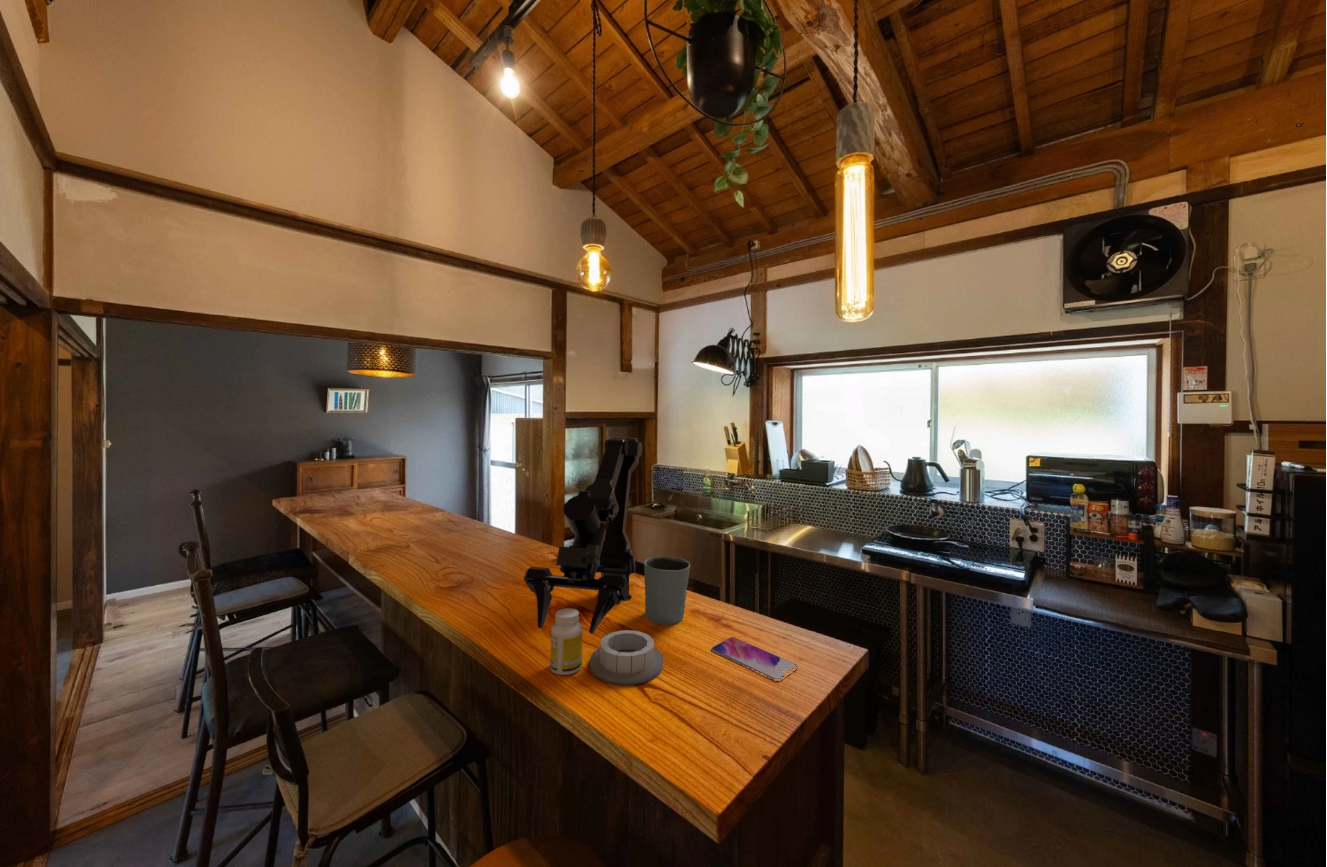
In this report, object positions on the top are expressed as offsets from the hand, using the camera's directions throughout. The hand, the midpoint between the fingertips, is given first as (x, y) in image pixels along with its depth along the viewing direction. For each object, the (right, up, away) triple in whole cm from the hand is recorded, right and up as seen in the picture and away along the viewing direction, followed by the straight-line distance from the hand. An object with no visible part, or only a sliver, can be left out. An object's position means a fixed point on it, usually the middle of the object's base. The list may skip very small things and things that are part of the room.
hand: (565, 630), depth 83 cm
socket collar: (+10, -7, +3) cm, 13 cm away
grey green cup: (+17, -7, +24) cm, 30 cm away
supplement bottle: (0, -7, +1) cm, 7 cm away
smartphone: (+34, -8, +6) cm, 35 cm away
